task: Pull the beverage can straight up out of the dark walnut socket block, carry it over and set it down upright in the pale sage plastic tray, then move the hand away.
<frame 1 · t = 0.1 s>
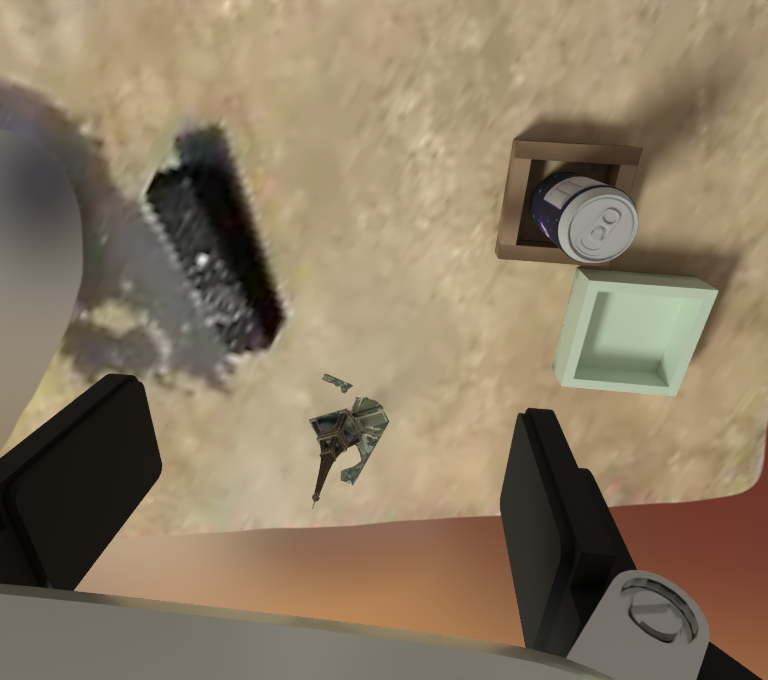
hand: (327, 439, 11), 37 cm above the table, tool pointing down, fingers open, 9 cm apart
socket block: (558, 202, 43), on the table
beverage can: (558, 202, 43), resting in socket block
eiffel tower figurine: (340, 429, 58), on the table
tray: (619, 324, 48), on the table
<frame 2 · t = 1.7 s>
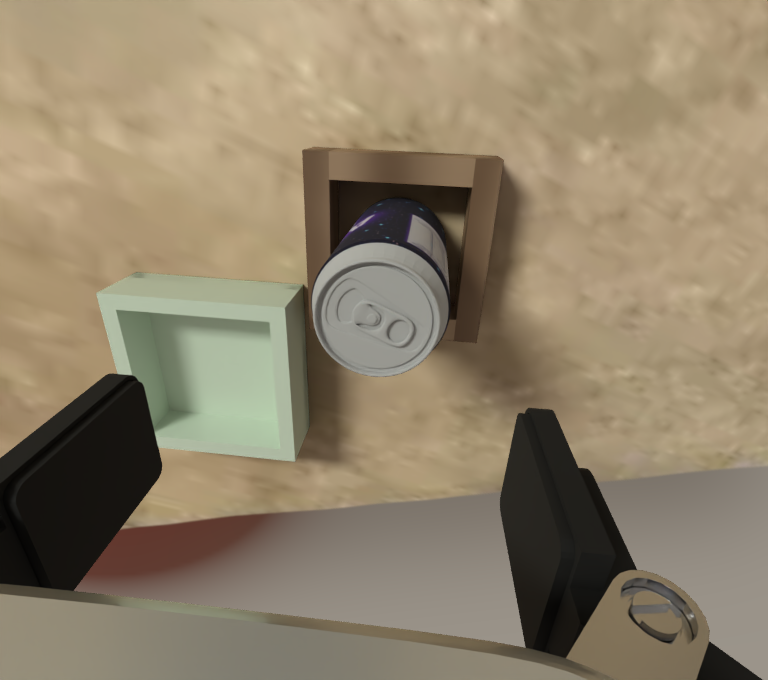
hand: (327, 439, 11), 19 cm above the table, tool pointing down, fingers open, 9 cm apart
socket block: (399, 242, 28), on the table
beverage can: (399, 241, 28), resting in socket block
tray: (228, 354, 33), on the table
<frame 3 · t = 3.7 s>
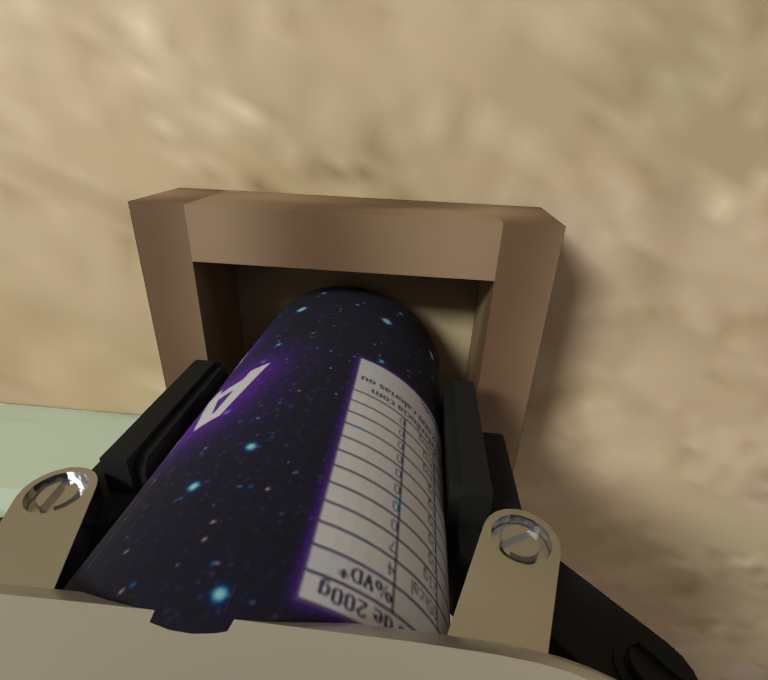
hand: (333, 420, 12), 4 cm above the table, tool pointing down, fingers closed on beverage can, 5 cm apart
socket block: (353, 357, 15), on the table
beverage can: (354, 354, 15), resting in socket block, touching gripper
tray: (82, 516, 20), on the table
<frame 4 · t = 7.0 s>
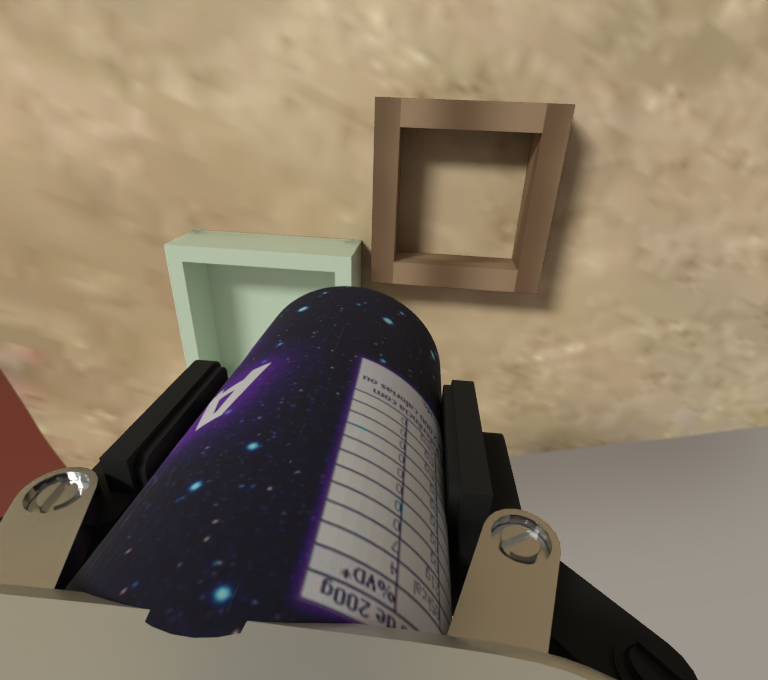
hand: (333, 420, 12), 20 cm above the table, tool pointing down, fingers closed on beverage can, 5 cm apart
socket block: (460, 195, 28), on the table
beverage can: (355, 354, 15), point 16 cm above the table, touching gripper
tray: (282, 313, 33), on the table
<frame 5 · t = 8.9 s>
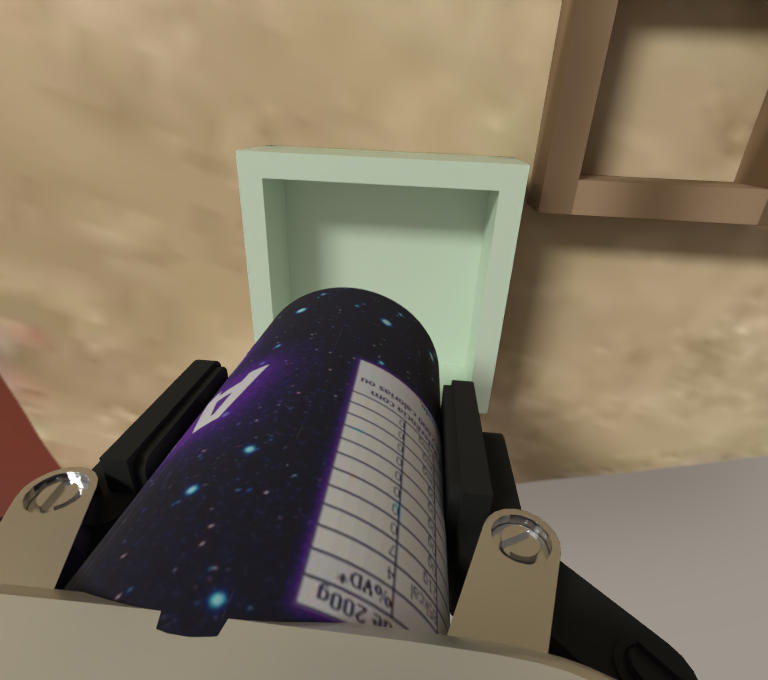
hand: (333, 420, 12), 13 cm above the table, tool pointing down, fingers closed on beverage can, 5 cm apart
socket block: (674, 82, 19), on the table
beverage can: (354, 355, 15), point 10 cm above the table, touching gripper
tray: (383, 269, 24), on the table
when the fingers open (6 cm above the table, at t = 10.5 s): beverage can drops 2 cm, resting on tray.
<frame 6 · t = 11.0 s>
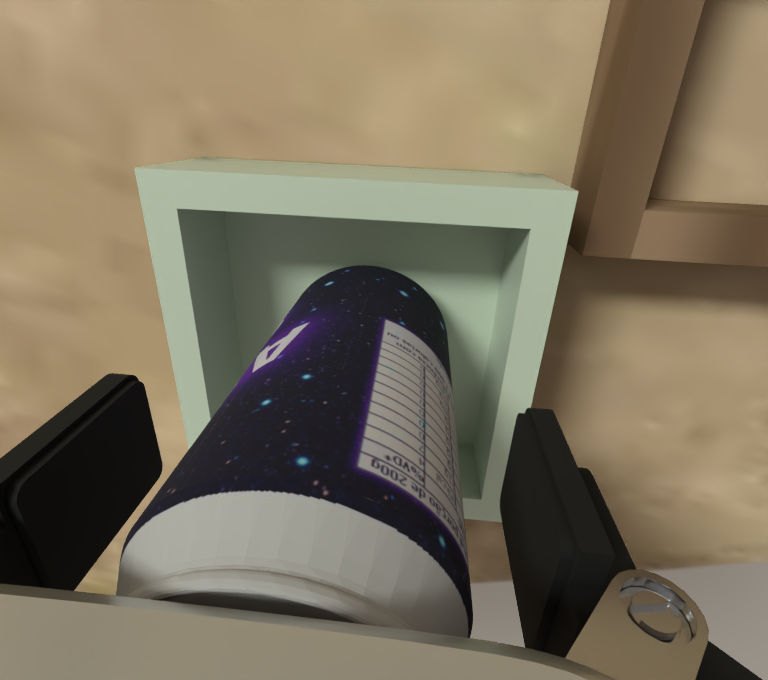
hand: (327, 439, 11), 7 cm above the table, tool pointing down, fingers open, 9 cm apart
beverage can: (370, 329, 17), point 1 cm above the table, touching tray
tray: (364, 322, 18), on the table
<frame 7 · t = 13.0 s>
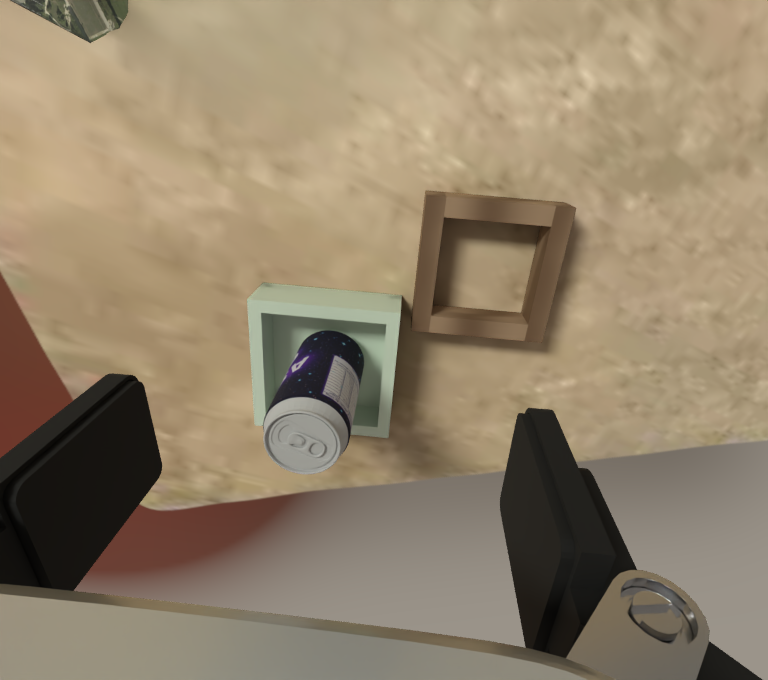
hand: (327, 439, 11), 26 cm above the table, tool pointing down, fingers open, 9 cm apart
socket block: (483, 264, 36), on the table
beverage can: (332, 354, 39), point 1 cm above the table, touching tray
tray: (330, 350, 40), on the table
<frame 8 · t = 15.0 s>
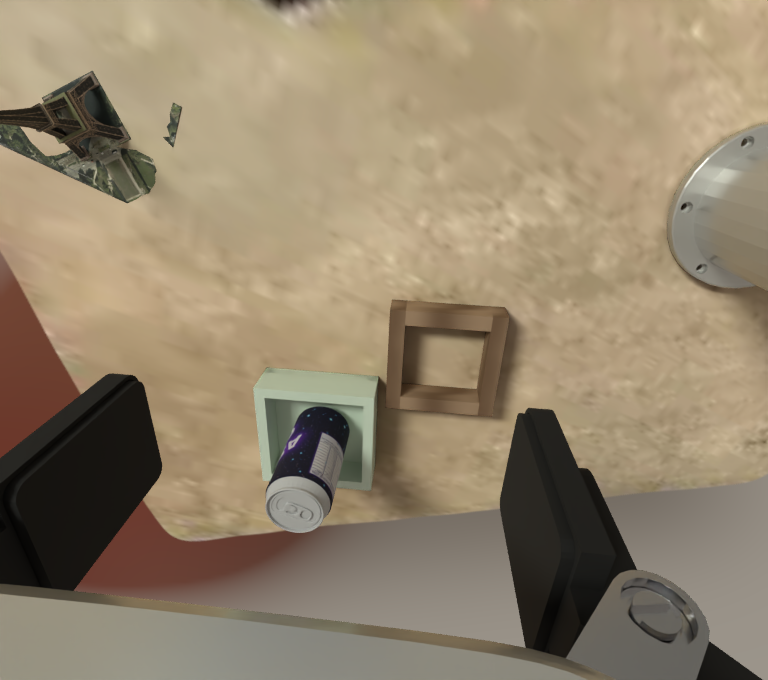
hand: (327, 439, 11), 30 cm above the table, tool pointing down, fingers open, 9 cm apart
socket block: (442, 353, 44), on the table
beverage can: (324, 422, 48), point 1 cm above the table, touching tray
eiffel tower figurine: (90, 123, 38), on the table
tray: (323, 418, 48), on the table
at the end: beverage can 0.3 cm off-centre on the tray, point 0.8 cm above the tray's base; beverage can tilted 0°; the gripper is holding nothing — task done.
